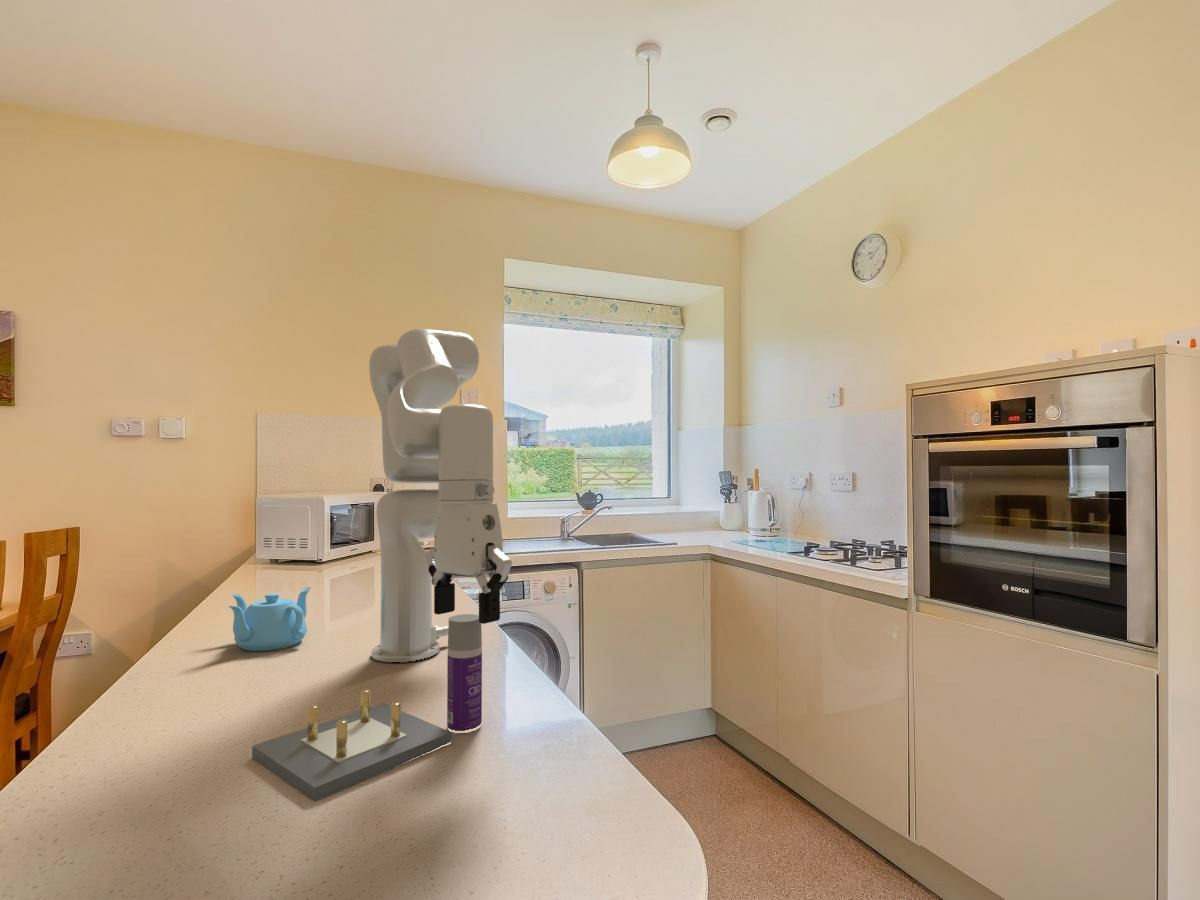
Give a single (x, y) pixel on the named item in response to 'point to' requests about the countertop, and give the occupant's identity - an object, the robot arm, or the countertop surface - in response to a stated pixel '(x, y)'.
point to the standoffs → (342, 724)
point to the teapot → (269, 622)
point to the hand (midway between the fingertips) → (466, 617)
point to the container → (464, 672)
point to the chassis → (366, 751)
